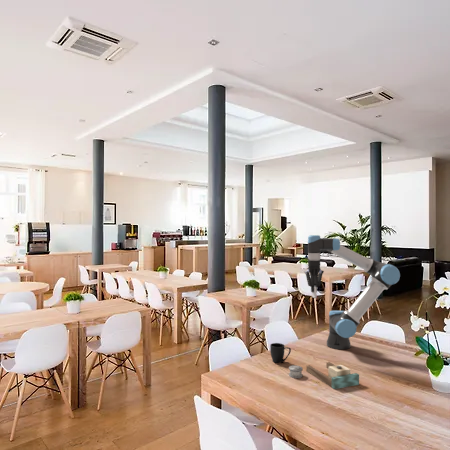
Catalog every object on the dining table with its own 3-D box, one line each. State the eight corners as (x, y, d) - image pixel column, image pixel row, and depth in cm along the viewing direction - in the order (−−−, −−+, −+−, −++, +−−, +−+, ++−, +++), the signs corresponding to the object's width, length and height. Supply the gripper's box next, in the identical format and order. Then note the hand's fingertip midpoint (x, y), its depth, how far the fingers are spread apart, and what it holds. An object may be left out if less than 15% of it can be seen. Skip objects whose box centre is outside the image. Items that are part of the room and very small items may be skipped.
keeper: (341, 378, 189) (341, 363, 189) (350, 383, 182) (350, 368, 183) (328, 380, 186) (328, 365, 186) (337, 385, 180) (337, 370, 180)
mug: (288, 366, 206) (288, 349, 206) (268, 362, 212) (268, 346, 212) (292, 361, 213) (292, 345, 214) (273, 358, 219) (273, 342, 219)
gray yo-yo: (298, 372, 198) (297, 364, 198) (305, 377, 191) (305, 369, 191) (286, 374, 195) (286, 366, 195) (293, 379, 188) (293, 371, 189)
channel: (329, 367, 204) (329, 358, 204) (359, 384, 182) (359, 374, 182) (306, 371, 199) (306, 361, 199) (334, 389, 176) (334, 378, 176)
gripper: (319, 258, 235) (319, 295, 235) (301, 259, 231) (302, 297, 230) (326, 259, 228) (326, 297, 228) (308, 260, 224) (308, 299, 223)
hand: (314, 297), depth 229 cm, fingers closed
